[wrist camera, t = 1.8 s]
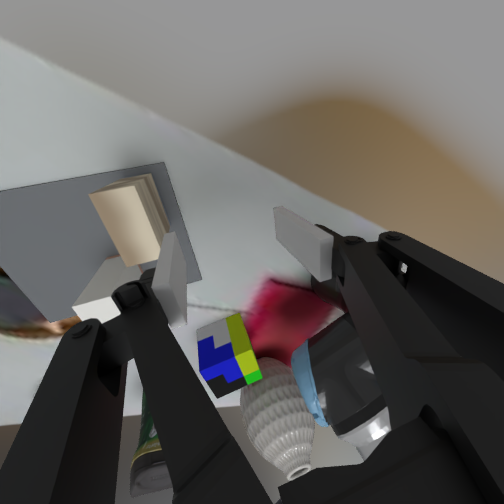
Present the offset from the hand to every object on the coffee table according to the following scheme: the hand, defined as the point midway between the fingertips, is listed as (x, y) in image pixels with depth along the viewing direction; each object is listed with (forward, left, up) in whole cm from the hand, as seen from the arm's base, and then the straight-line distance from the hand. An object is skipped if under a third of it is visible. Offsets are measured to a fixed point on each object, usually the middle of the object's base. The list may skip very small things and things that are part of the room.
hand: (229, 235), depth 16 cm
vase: (-3, +49, -20) cm, 53 cm away
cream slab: (+16, +11, -20) cm, 28 cm away
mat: (+18, +6, -20) cm, 28 cm away
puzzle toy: (+4, +33, -20) cm, 39 cm away
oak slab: (+9, 0, -20) cm, 22 cm away
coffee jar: (+20, +41, -20) cm, 50 cm away
